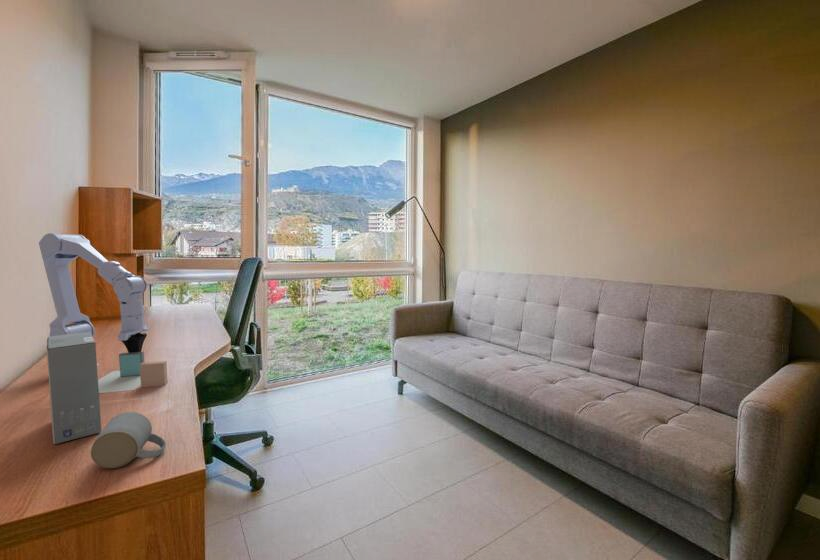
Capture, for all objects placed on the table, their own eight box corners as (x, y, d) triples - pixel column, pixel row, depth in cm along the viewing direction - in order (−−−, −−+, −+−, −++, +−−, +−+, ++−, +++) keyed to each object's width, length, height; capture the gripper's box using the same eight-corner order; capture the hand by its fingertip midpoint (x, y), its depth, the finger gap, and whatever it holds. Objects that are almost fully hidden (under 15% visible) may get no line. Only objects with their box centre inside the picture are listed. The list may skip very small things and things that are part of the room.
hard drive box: (102, 433, 79) (95, 342, 78) (53, 446, 74) (44, 349, 72) (96, 410, 91) (90, 330, 89) (53, 420, 85) (45, 335, 84)
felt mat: (112, 372, 118) (112, 371, 118) (162, 368, 122) (162, 367, 122) (73, 396, 99) (73, 395, 99) (133, 391, 102) (133, 390, 102)
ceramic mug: (88, 475, 64) (86, 433, 64) (107, 451, 72) (105, 413, 71) (160, 463, 68) (158, 423, 68) (170, 442, 76) (169, 406, 75)
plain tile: (144, 386, 106) (142, 362, 106) (167, 384, 108) (166, 360, 107) (141, 388, 105) (139, 364, 104) (165, 386, 106) (163, 362, 105)
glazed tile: (123, 374, 115) (121, 352, 114) (145, 373, 116) (143, 351, 115) (119, 377, 113) (118, 354, 112) (142, 375, 114) (140, 353, 114)
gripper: (136, 318, 109) (139, 363, 110) (156, 310, 123) (159, 350, 124) (108, 320, 107) (111, 365, 109) (132, 311, 121) (134, 352, 122)
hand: (135, 357), depth 116 cm, fingers closed
